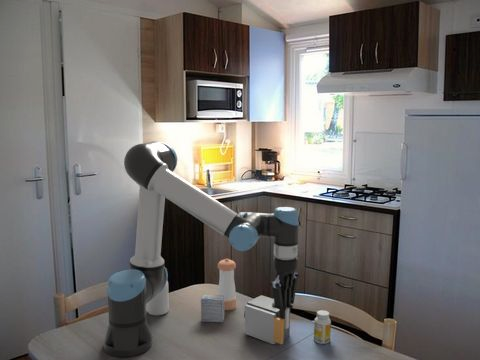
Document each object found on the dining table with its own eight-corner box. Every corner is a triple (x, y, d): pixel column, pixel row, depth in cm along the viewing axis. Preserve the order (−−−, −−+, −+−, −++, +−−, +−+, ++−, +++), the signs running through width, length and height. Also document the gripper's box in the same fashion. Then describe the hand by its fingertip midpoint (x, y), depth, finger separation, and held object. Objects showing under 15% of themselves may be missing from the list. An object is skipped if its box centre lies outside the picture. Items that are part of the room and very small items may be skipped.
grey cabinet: (242, 331, 162) (242, 298, 160) (256, 323, 168) (256, 291, 166) (276, 344, 153) (276, 309, 151) (289, 335, 159) (290, 301, 157)
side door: (244, 333, 159) (245, 305, 158) (247, 332, 160) (247, 304, 158) (281, 347, 150) (281, 317, 148) (283, 345, 151) (284, 316, 149)
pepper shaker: (216, 303, 185) (216, 255, 182) (235, 302, 186) (235, 255, 183) (217, 310, 178) (217, 261, 175) (237, 310, 179) (237, 261, 176)
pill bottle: (158, 305, 183) (157, 268, 180) (173, 310, 178) (172, 272, 176) (142, 312, 176) (141, 273, 174) (158, 318, 172) (157, 278, 169)
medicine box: (224, 317, 172) (224, 295, 171) (222, 323, 168) (222, 299, 167) (203, 316, 173) (202, 294, 172) (200, 322, 169) (200, 298, 167)
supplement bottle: (315, 344, 153) (315, 316, 152) (312, 336, 159) (313, 309, 157) (331, 344, 153) (332, 316, 152) (328, 336, 158) (329, 309, 157)
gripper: (284, 264, 141) (282, 338, 145) (306, 253, 151) (304, 323, 155) (263, 259, 146) (262, 330, 149) (287, 249, 156) (285, 317, 159)
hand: (284, 327), depth 152 cm, fingers closed
